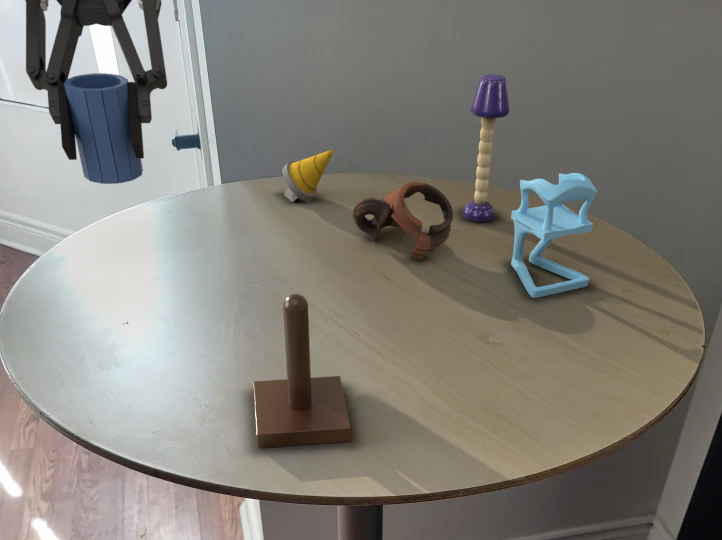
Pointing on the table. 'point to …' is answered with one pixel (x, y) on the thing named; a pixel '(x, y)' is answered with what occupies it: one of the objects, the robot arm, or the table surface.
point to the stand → (299, 393)
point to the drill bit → (305, 176)
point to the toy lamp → (486, 140)
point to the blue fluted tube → (103, 127)
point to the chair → (551, 228)
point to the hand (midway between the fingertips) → (103, 152)
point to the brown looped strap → (405, 217)
